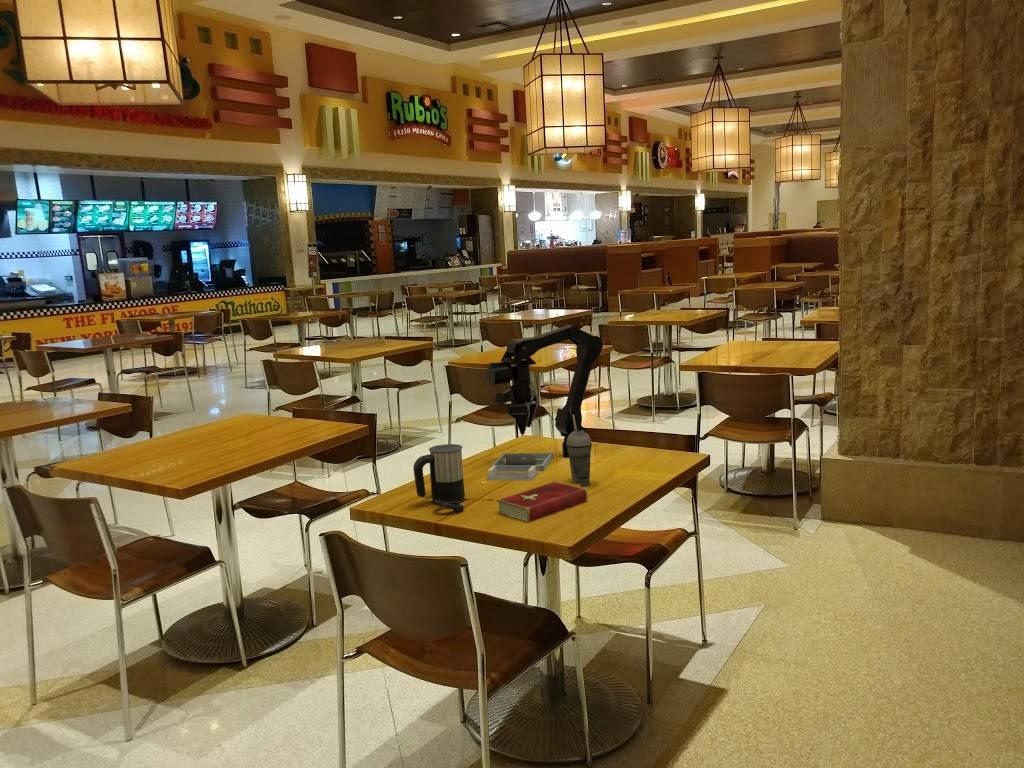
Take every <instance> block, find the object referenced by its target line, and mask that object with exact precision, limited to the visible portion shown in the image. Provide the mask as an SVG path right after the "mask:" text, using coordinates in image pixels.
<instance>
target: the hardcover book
mask: <svg viewBox="0 0 1024 768" xmlns="http://www.w3.org/2000/svg"><path fill="white" fill-rule="evenodd" d="M586 501H587V502H588V490H587V488H585V487H580V486H577V485H573V484H569V483H565V482H560V481H557V480H556V481H552V482H548V483H545V484H541V485H538V486H536V487H531V488H530V489H527V490H523V491H520V492H517V493H514V494H511V495H507V496H504V497H501V498H498V499H496V500H495V502H496V503H498V513H499V514H501V513H502V514H501V515H504V514H505V516H507V515H508V516H509V517H511V518H514V517H515V519H517V518H518V519H519V520H521V519H522V520H521V521H524V520H525V521H524V522H526V523H531V522H533V520H534V521H536V519H537V520H539V519H542V518H544V516H545V517H547V515H548V516H550V515H549V514H551V515H553V513H554V514H556V513H559V512H562V511H564V509H565V510H567V509H566V508H568V509H570V508H573V507H575V505H576V506H579V505H581V504H580V503H582V504H584V502H585V503H586ZM578 504H579V505H578ZM572 506H573V507H572ZM569 507H570V508H569ZM561 510H562V511H561ZM558 511H559V512H558ZM555 512H556V513H555ZM541 517H542V518H541ZM518 519H517V520H518ZM530 521H531V522H530Z"/></svg>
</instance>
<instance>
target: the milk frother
mask: <svg viewBox="0 0 1024 768" xmlns="http://www.w3.org/2000/svg"><path fill="white" fill-rule="evenodd" d="M462 449H463V445H460V444H455V443H447V444H438V445H433V446H430V447H429V448H428V451H429V454H425V455H424V454H423V455H421V456H419V457H418V458H417V459H416V460H415V461H414V464H413V474H414V475H413V476H414V481H415V482H414V483H415V489H416V494H417V496H418V497H420V498H425V496H426V487H425V479H424V466H426V465H427V464H429V474H430V487H431V488H430V490H431V493H430V494H431V497H432V500H431V501H432V503H434V504H436V505H440V506H443V507H445V508H448V509H449V510H453V511H454V512H458V510H462V509H463V510H464V509H465V508H464V507H465V506H464V504H463V503H462V502H464V501H465V500H466V499H467V498H466V492H465V484H464V482H465V481H464V471H463V470H464V469H463V455H462V454H463V452H462V451H463V450H462Z"/></svg>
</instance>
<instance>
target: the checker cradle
mask: <svg viewBox="0 0 1024 768" xmlns="http://www.w3.org/2000/svg"><path fill="white" fill-rule="evenodd" d="M538 474H539V472H537V471H536V466H531V468H530V469H529V470H528V471H527V472H506V471H497V470H496V466H492V467H491V466H490V468H488V469H487V476H488V477H487V478H486V479H485V480H486V481H534V479H535V478H536V477H537V476H538Z"/></svg>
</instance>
